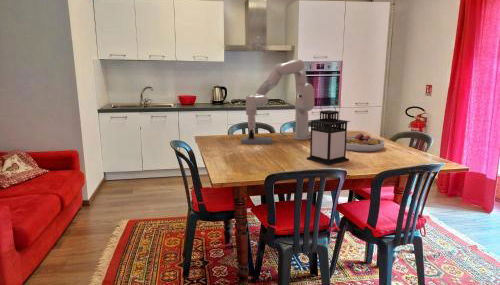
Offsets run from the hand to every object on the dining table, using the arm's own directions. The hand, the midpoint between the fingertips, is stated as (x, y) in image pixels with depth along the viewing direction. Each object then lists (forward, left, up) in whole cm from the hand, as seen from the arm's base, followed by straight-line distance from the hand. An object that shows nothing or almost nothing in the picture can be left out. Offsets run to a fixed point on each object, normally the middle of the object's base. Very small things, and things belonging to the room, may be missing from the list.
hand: (251, 137), depth 266 cm
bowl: (-74, +17, -4) cm, 76 cm away
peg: (0, 0, -4) cm, 4 cm away
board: (-4, 0, -4) cm, 5 cm away
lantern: (-46, +51, -4) cm, 69 cm away
